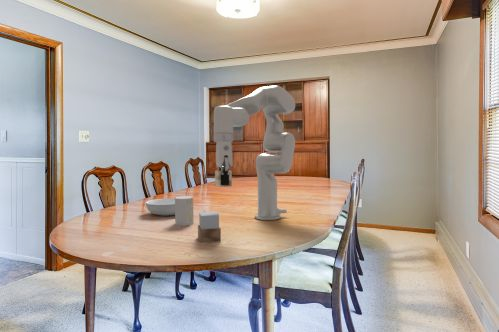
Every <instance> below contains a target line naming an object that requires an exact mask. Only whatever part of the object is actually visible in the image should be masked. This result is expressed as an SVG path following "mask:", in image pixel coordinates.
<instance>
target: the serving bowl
mask: <svg viewBox="0 0 499 332" xmlns="http://www.w3.org/2000/svg"><path fill="white" fill-rule="evenodd" d="M145 206H146V209H147V210H148V212H150V214H153V215H156V216H157V215H158V216H161V217H169V215H170V216H175V215H174V214H175V197H174V198H169V197H168V198H159V199H158V198H157V199H156V198H155V199H150V200H148V201H146V202H145Z"/></svg>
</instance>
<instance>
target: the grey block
mask: <svg viewBox="0 0 499 332" xmlns="http://www.w3.org/2000/svg"><path fill="white" fill-rule="evenodd" d="M198 214H199V215H198V216H199V225H200V227H201V229H215V228H219V227H220V215H219V213H218V212H217V211H216V210H215V211H200V212H199V213H198Z"/></svg>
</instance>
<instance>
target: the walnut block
mask: <svg viewBox="0 0 499 332" xmlns="http://www.w3.org/2000/svg"><path fill="white" fill-rule="evenodd" d="M221 233H222V232H221V227H220V226H219V228H215V229H201V227H200V224H198V225H197V238H198V240H199V243H200V244H205V243H214V242H215V243H217V242H222V237H221V236H222V234H221Z"/></svg>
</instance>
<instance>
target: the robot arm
mask: <svg viewBox="0 0 499 332" xmlns="http://www.w3.org/2000/svg"><path fill="white" fill-rule="evenodd" d="M295 108H296V101H295V98H294V97H293V96H292V94H291V93H289V92H288V91H287V90H286V89H285V88H284V87H282V86H280V85H269V86H268V85H267V86H261V87H259V88H257V89H255V90H254V91H253V92H252V93H250V94H248V95H246V96H244V97H242V98H239V99H237V100H235V101H233V102H230V103H228V104H226V105H218V106H215V107H214V109H213V143H216V145H215V164H216V167H217V170H221V174H222V175H221V185H229V170H230V168H232V167H233V166H234V165H233V163H234V162H233V145H232V143H234V128H236V127H237V128H239V127H244V126H247V125H248V123H249V121H250V116H253V115H256V114H258V113H259V112H261V110H262V111H263V115H264V117H265V120H266V128H265V133H264V136H263V142H262V147H263V150H264V151H266V152H264V153H262V152H261V153H260V154H258V155H257V156H256V158H255V161H254V162H255V169H256V175H257V213H256V214H254V218H255V219H256V220H259V221H275V220H279V219H281V214H287V212H288V209H287V208H286V209H284V208H283V209H282V208H279V207H278V181H277V180H278V179H277V177H276V176H275V174H287V173H289V172H290V170H291V168H292V164H293V159H294V153H295V148H296V140H295V136H294V134H293V133H291V132H285V131H284V127H285V125H284V122H283V120H282V119H281V117H279V115H287V114H291V113H293V112H294V111H295Z"/></svg>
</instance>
